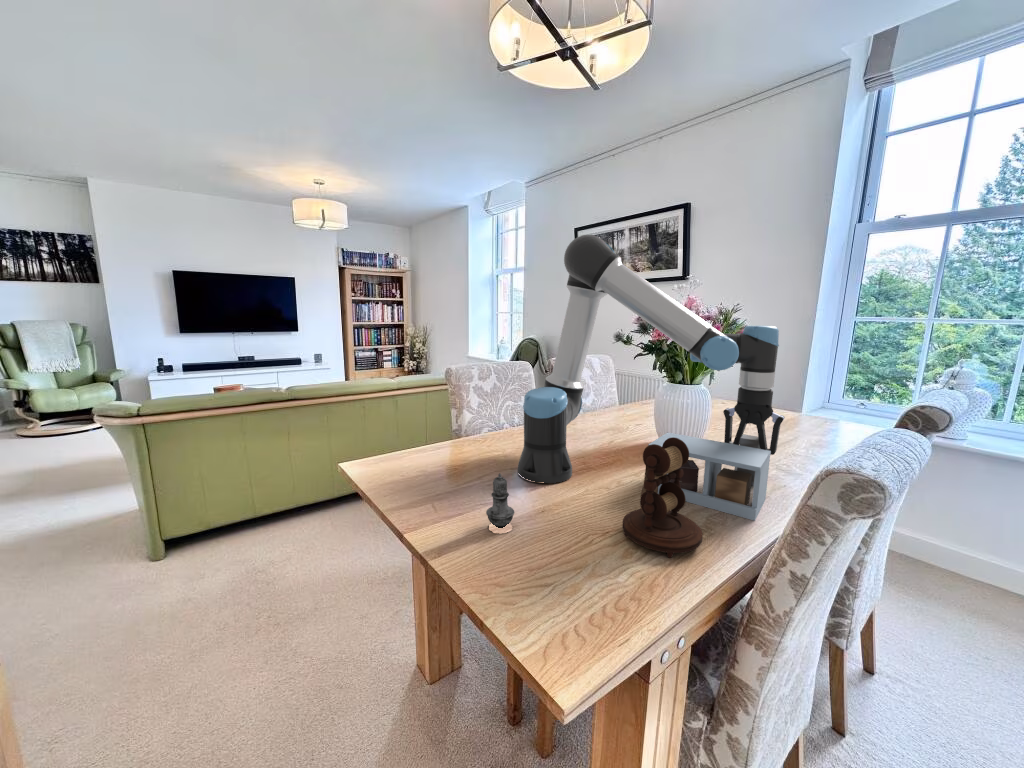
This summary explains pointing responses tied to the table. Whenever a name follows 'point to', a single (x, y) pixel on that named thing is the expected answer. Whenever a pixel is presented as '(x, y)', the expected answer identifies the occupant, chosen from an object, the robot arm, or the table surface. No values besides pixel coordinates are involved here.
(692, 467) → the box
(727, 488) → the walnut block
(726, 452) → the shelf
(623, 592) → the table surface
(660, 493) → the thread spool stand
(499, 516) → the salt shaker
